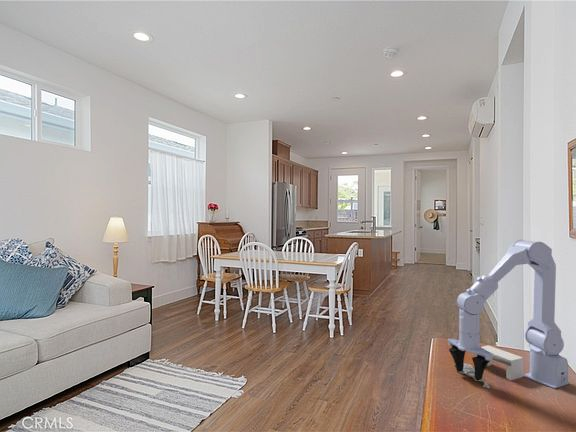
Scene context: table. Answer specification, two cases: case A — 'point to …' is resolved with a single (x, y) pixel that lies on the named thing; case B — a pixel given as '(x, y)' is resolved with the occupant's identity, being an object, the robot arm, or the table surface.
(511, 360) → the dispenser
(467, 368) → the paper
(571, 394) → the table surface
